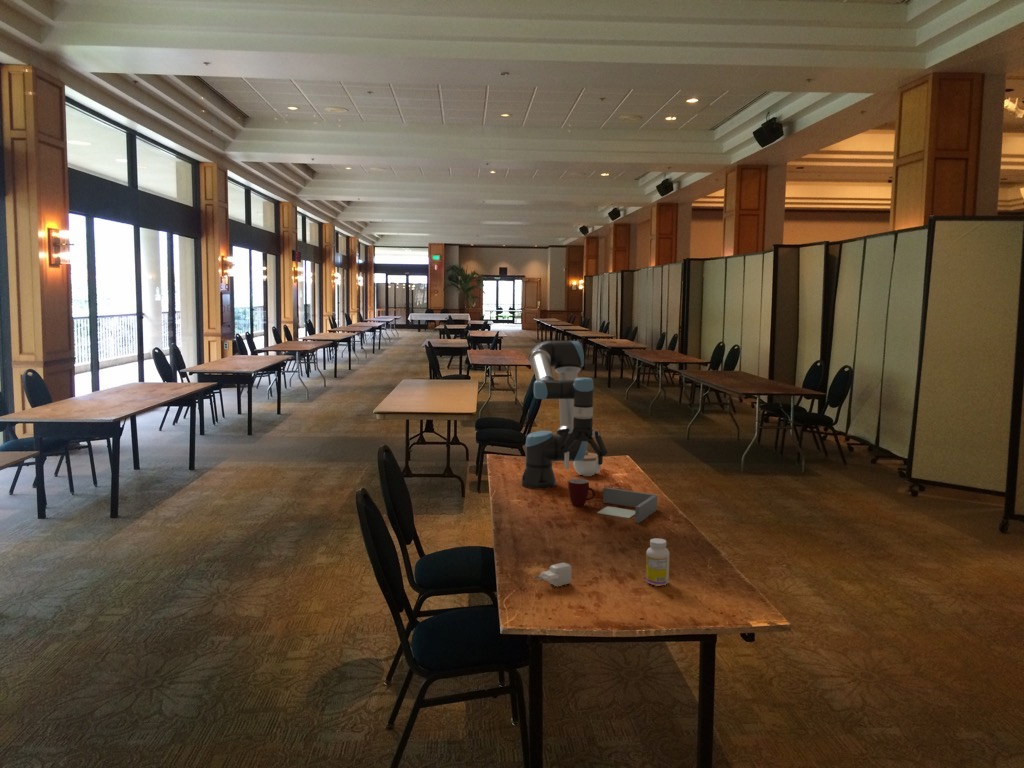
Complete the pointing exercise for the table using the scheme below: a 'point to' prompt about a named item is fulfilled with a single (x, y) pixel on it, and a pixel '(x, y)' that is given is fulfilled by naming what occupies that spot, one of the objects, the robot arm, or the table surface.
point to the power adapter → (557, 574)
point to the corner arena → (629, 503)
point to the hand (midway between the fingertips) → (582, 470)
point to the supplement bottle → (657, 562)
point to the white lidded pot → (586, 465)
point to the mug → (579, 491)
